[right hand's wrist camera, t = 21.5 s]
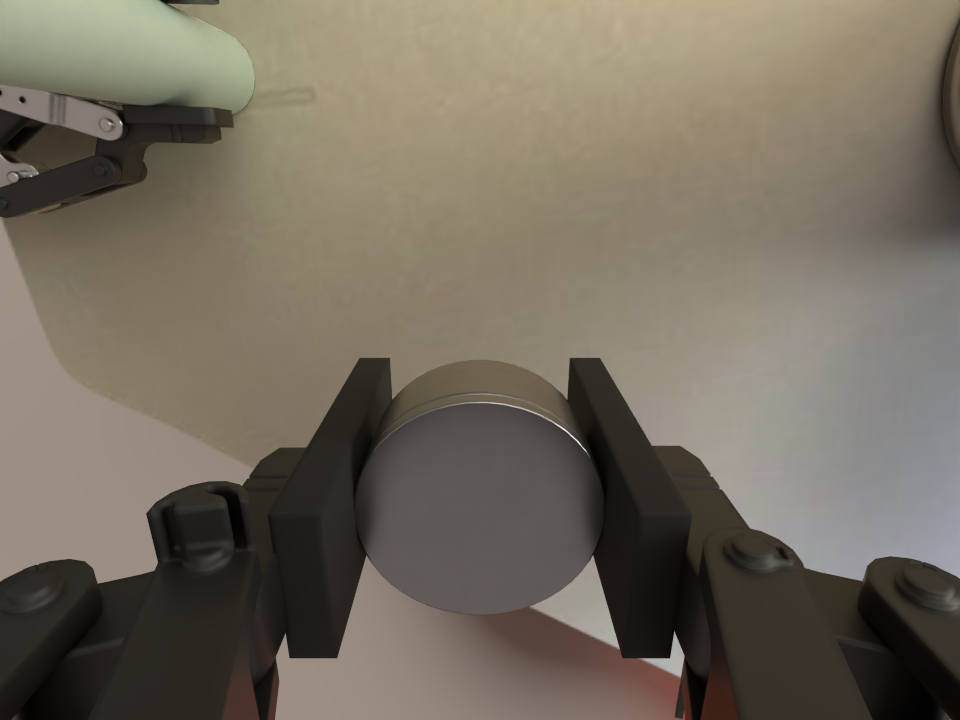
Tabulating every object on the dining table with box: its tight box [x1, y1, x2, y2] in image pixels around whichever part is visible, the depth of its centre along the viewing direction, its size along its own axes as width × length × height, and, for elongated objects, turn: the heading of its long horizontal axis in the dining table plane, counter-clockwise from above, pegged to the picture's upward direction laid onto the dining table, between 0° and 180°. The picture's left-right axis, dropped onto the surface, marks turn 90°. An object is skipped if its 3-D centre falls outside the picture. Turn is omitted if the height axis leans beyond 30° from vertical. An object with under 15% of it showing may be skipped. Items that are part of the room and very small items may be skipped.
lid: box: [354, 360, 606, 615], centre depth 11 cm, size 5×5×2 cm
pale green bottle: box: [0, 0, 255, 115], centre depth 20 cm, size 4×4×19 cm
